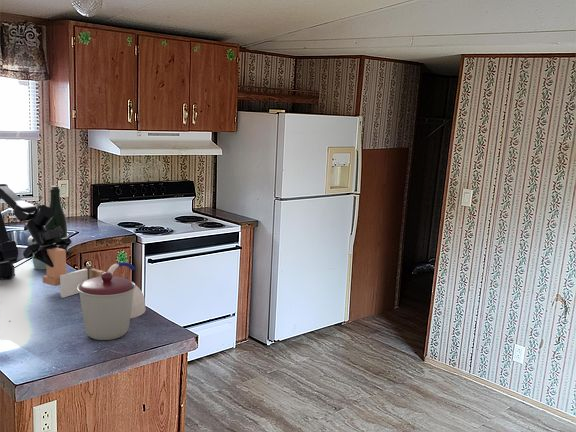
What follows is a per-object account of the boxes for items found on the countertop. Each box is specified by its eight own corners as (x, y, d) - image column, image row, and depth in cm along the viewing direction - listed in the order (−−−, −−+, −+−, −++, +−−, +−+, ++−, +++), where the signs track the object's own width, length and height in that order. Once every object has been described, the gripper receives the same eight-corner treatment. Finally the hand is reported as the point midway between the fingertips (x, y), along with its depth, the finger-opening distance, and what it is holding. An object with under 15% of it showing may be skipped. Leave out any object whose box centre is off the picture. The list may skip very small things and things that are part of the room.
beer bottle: (40, 254, 278) (38, 186, 272) (51, 249, 288) (50, 183, 282) (61, 256, 277) (59, 188, 271) (71, 251, 287) (70, 185, 281)
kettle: (74, 315, 204) (74, 266, 201) (111, 298, 223) (111, 253, 220) (123, 325, 198) (123, 274, 194) (156, 307, 217) (157, 260, 213)
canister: (114, 320, 202) (114, 261, 198) (147, 334, 190) (147, 273, 186) (66, 333, 188) (65, 271, 184) (98, 350, 177) (97, 284, 173)
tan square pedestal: (42, 282, 224) (42, 250, 221) (58, 278, 230) (57, 246, 227) (55, 286, 220) (54, 253, 218) (70, 281, 226) (69, 249, 224)
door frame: (104, 292, 229) (104, 268, 227) (99, 294, 227) (99, 269, 225) (67, 282, 239) (66, 259, 237) (62, 283, 237) (62, 260, 235)
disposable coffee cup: (42, 272, 251) (41, 238, 248) (22, 268, 254) (21, 235, 251) (59, 266, 260) (58, 233, 258) (40, 263, 264) (39, 231, 261)
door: (82, 288, 231) (82, 267, 229) (87, 290, 230) (87, 269, 228) (58, 296, 221) (57, 274, 219) (63, 297, 220) (62, 276, 218)
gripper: (27, 224, 214) (47, 258, 211) (68, 217, 230) (88, 249, 227) (14, 241, 219) (34, 275, 216) (55, 233, 235) (74, 264, 232)
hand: (58, 265), depth 223 cm, fingers closed on tan square pedestal, 5 cm apart
